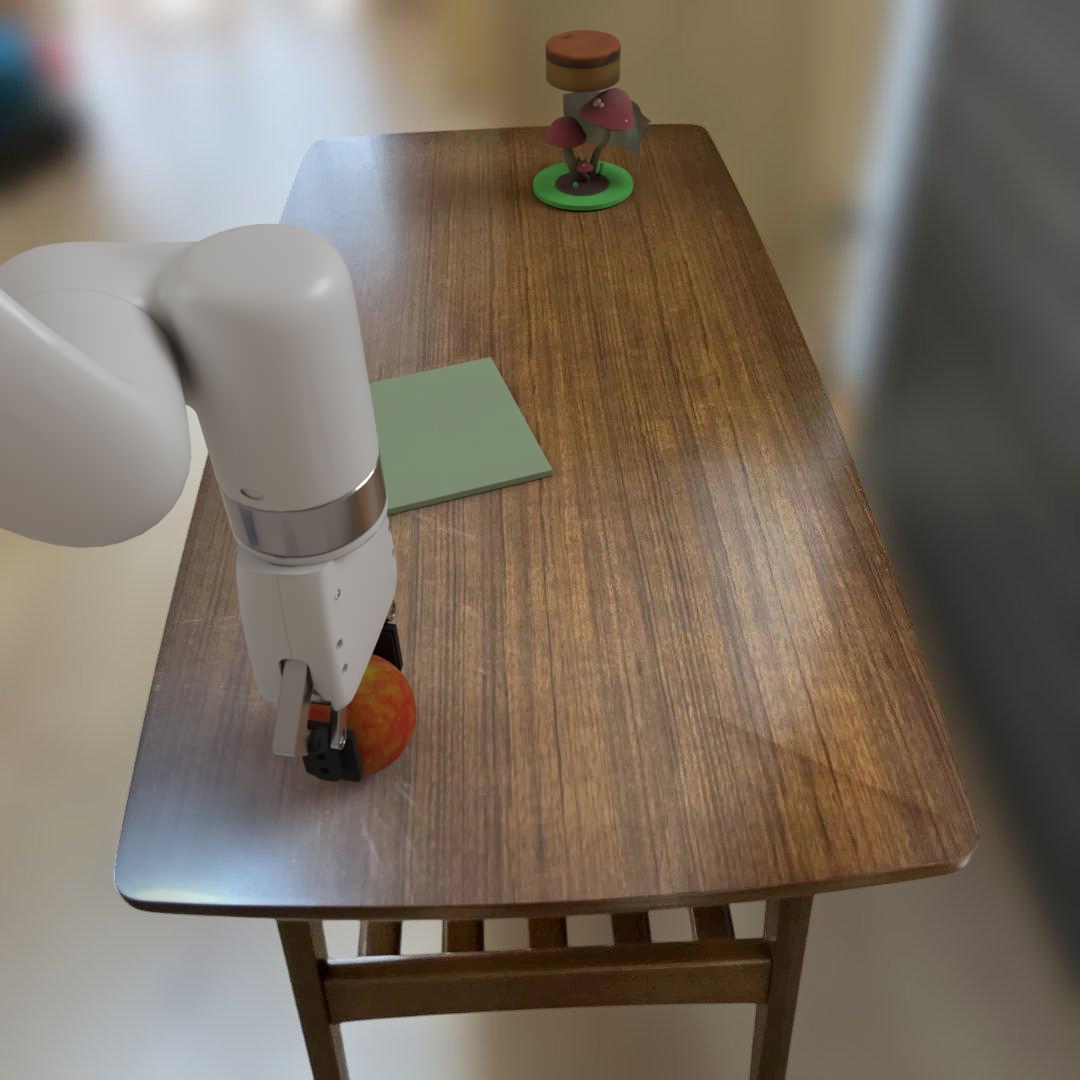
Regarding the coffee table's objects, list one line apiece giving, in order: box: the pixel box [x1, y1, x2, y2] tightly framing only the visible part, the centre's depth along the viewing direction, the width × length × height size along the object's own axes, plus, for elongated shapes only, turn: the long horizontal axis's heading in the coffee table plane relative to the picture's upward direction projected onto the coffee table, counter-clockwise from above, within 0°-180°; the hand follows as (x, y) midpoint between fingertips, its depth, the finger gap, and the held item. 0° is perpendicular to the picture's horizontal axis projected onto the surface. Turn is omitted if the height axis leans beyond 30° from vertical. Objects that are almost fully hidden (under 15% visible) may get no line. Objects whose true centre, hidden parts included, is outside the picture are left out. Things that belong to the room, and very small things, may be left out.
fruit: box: [308, 654, 418, 777], centre depth 64 cm, size 7×7×8 cm
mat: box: [369, 356, 553, 516], centre depth 88 cm, size 18×16×1 cm
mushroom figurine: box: [532, 29, 652, 212], centre depth 114 cm, size 12×13×15 cm
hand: (357, 717), depth 65 cm, fingers closed on fruit, 7 cm apart
